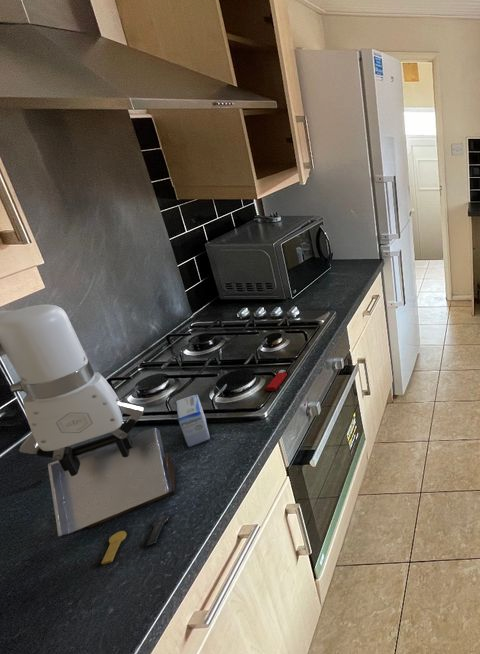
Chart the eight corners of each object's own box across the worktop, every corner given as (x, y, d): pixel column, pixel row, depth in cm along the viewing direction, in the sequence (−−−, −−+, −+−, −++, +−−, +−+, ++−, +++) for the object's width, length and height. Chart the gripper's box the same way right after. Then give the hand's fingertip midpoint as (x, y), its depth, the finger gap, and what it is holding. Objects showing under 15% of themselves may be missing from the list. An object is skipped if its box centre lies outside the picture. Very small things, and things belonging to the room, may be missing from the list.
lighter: (264, 387, 115) (279, 369, 123) (265, 390, 116) (280, 373, 123) (275, 387, 115) (288, 369, 123) (276, 390, 116) (289, 373, 123)
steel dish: (66, 534, 73) (46, 539, 66) (55, 461, 76) (34, 459, 70) (172, 491, 81) (162, 491, 75) (158, 426, 84) (148, 421, 78)
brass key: (98, 566, 73) (97, 564, 72) (112, 535, 78) (111, 533, 78) (115, 560, 74) (114, 558, 73) (128, 530, 79) (127, 528, 78)
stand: (89, 528, 79) (78, 510, 77) (94, 500, 84) (85, 483, 82) (174, 493, 86) (167, 475, 84) (174, 469, 91) (167, 452, 89)
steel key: (143, 548, 76) (142, 546, 75) (155, 519, 81) (155, 517, 81) (159, 543, 76) (158, 541, 76) (170, 515, 82) (170, 513, 81)
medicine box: (185, 428, 102) (174, 400, 99) (206, 420, 105) (197, 393, 102) (188, 448, 97) (177, 419, 94) (211, 439, 100) (200, 410, 96)
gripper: (-30, 414, 60) (26, 501, 67) (128, 371, 69) (162, 452, 76) (-11, 386, 65) (38, 470, 72) (132, 350, 75) (164, 427, 82)
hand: (102, 460), depth 74 cm, fingers closed on steel dish, 6 cm apart
